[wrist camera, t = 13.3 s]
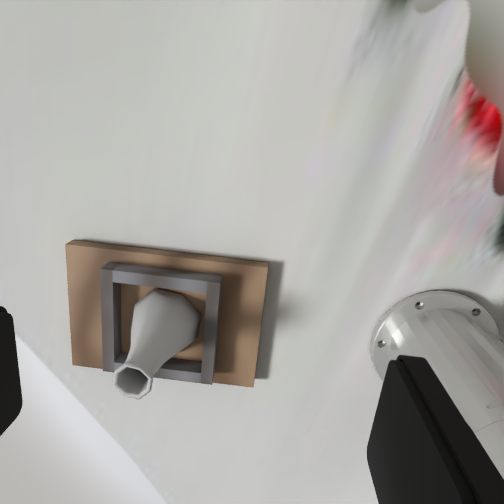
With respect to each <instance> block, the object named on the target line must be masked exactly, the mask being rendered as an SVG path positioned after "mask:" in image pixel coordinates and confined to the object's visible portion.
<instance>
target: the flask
mask: <svg viewBox="0 0 504 504" xmlns="http://www.w3.org/2000/svg"><path fill="white" fill-rule="evenodd" d="M200 320H201V314H200V313H199V312H198V311H197V310H196V309H195V308H194V306H193V305H192V304H191V303H190V302H189V301H188V300H187V299H186V298H185V297H184V296H183V295H181V294H177V293H173V292H168V291H164V290H160V289H156V288H154V289H153V290H152V291H150V292H149V293H148V294H147V295H145V296H144V297H143V298H142V299H141V300H139V301H138V302H137V303H136V304H135V306H134V313H133V320H132V327H131V347H130V351H129V354H128V357H127V359H126V361H125V363H124V364H123V365H121V366H120V367H119V368H118V369H116V370H115V372H114V377H113V386H114V387H115V388H116V389H117V390H118V391H119V392H120V393H121V394H122V395H123V396H127V397H131V398H135V399H140V398H142V397H143V396H145V395H146V394H147V393H149V392H150V391H151V388H152V382H153V377H154V375H155V373H156V372H157V371H158V370H159V368H160V367H161V366H162V365H163V364H164V363H165V362H166V361H167V360H169V359H170V358H171V357H173V356H174V355H176V354H177V353H178V352H180V351H181V350H182V349H184V348H185V347H186V346H188V345H189V344H190V343H192V342H193V341H194V340H196V339H197V334H198V330H199V325H200Z"/></svg>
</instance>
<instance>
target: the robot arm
mask: <svg viewBox="0 0 504 504" xmlns="http://www.w3.org/2000/svg"><path fill="white" fill-rule="evenodd" d="M417 302H418V303H417ZM416 303H417V304H416ZM371 357H372V361H373V364H374V367H375V370H376V371H377V373H378V375H379V377H380V378H381V380H382V381H383V386H382V390H381V394H380V398H379V402H378V406H377V410H376V414H375V418H374V422H373V426H372V430H371V434H370V438H369V442H368V446H367V460H368V465H369V469H370V472H371V476H372V480H373V484H374V487H375V491H376V495H377V498H378V502H379V504H504V344H503V343H502V342H501V341H500V336H499V331H498V328H497V325H496V323H495V321H494V319H493V318H492V316H491V315H490V314H489V313H488V312H487V310H486V309H485V308H484V307H482V306H481V305H480V304H479V303H478V302H476V301H475V300H473V299H471V298H469V297H467V296H466V295H462V294H459V293H456V292H450V291H428V292H424V293H419V294H416V295H413V296H411V297H408V298H406V299H404V300H402V301H401V302H399V303H397V304H396V305H394V306H393V307H392V308H391V309H390V310H389V311H388V312H386V314H385V315H384V316H383V317H382V318H381V320H380V321H379V323H378V324H377V326H376V328H375V330H374V333H373V336H372V340H371ZM21 408H22V394H21V385H20V376H19V368H18V358H17V350H16V341H15V332H14V323H13V317H12V316H11V314H9V313H8V312H7V310H6V309H5V308H4V307H2V306H0V436H1V435H2V433H3V432H4V431H5V430H6V429H7V428H8V427H9V426H10V425H11V423H12V422H13V421H14V420H15V419H16V418H17V416H18V415H19V413H20V410H21Z"/></svg>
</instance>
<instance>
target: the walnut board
mask: <svg viewBox="0 0 504 504" xmlns="http://www.w3.org/2000/svg"><path fill="white" fill-rule="evenodd" d="M65 246H66V263H67V279H68V296H69V313H70V329H71V346H72V363H73V365H76V366H84V367H92V368H100V369H103V371H107V372H115V370H116V369H118V368H119V367H120V366H121V365H123V364H124V363H125V361H126V359H127V357H128V354H129V351H130V347H131V327H132V320H133V313H134V306H135V304H136V303H137V302H138V301H139V300H141V299H142V298H143V297H144V296H145V295H147V294H148V293H149V292H150V291H152V290H153V289H154V288H156V289H160V290H164V291H168V292H173V293H177V294H181V295H183V296H184V297H185V298H186V299H187V300H188V301H189V302H190V303H191V304H192V305H193V306H194V308H195V309H196V310H197V311H198V312H199V313H200V314H201V320H200V325H199V330H198V334H197V339H196V340H194V341H193V342H192V343H190V344H189V345H188V346H186V347H185V348H184V349H182V350H181V351H180V352H178V353H177V354H176V355H174V356H173V357H171V358H170V359H169V360H167V361H166V362H165V363H164V364H163V365H162V366H161V367H160V368H159V370H158V371H157V372H156V373H155V375H154V377H155V378H163V379H171V380H179V381H187V382H195V383H203V384H211V385H212V383H221V384H229V385H237V386H245V387H254V379H255V370H256V362H257V354H258V346H259V338H260V329H261V321H262V313H263V305H264V297H265V288H266V280H267V272H268V262H260V261H251V260H243V259H234V258H225V257H217V256H208V255H199V254H191V253H182V252H173V251H165V250H156V249H147V248H139V247H130V246H121V245H113V244H104V243H95V242H87V241H78V240H72V241H70V242H69V243H67V244H65Z"/></svg>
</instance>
